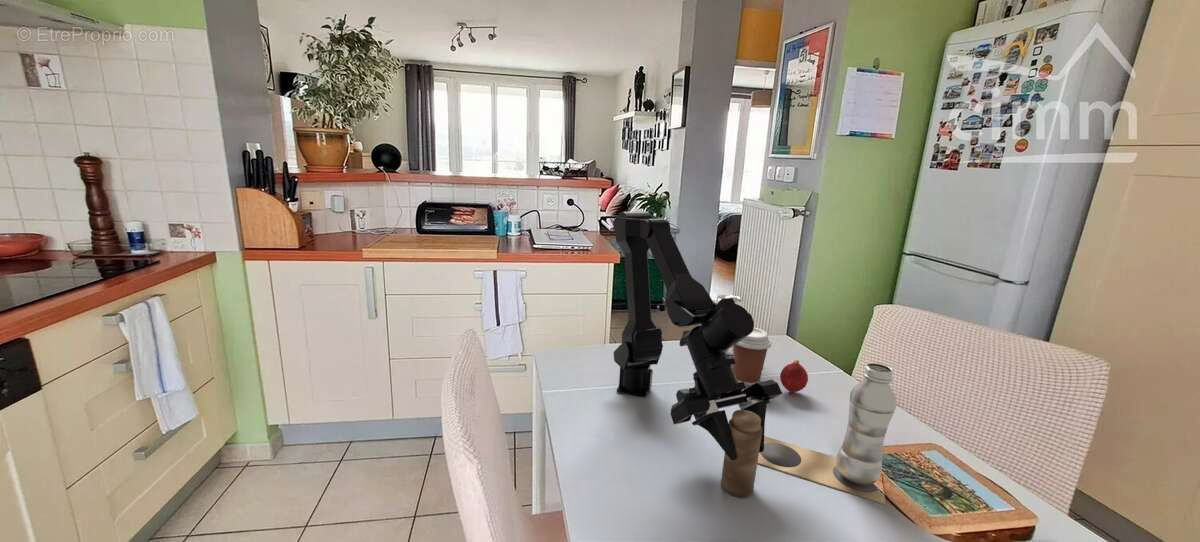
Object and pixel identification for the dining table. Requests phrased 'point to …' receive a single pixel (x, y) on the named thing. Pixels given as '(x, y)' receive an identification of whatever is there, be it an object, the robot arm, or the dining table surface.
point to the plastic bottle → (867, 426)
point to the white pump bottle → (737, 301)
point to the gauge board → (812, 468)
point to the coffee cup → (751, 356)
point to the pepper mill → (742, 454)
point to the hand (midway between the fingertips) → (748, 455)
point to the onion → (794, 377)
